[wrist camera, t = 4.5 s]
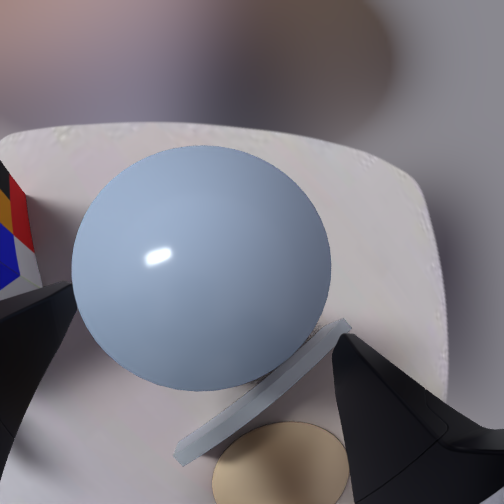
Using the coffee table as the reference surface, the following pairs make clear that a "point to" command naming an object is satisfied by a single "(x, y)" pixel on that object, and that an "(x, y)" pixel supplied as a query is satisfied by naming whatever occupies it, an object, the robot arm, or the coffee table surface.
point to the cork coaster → (282, 467)
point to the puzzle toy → (15, 241)
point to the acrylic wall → (260, 394)
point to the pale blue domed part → (201, 268)
